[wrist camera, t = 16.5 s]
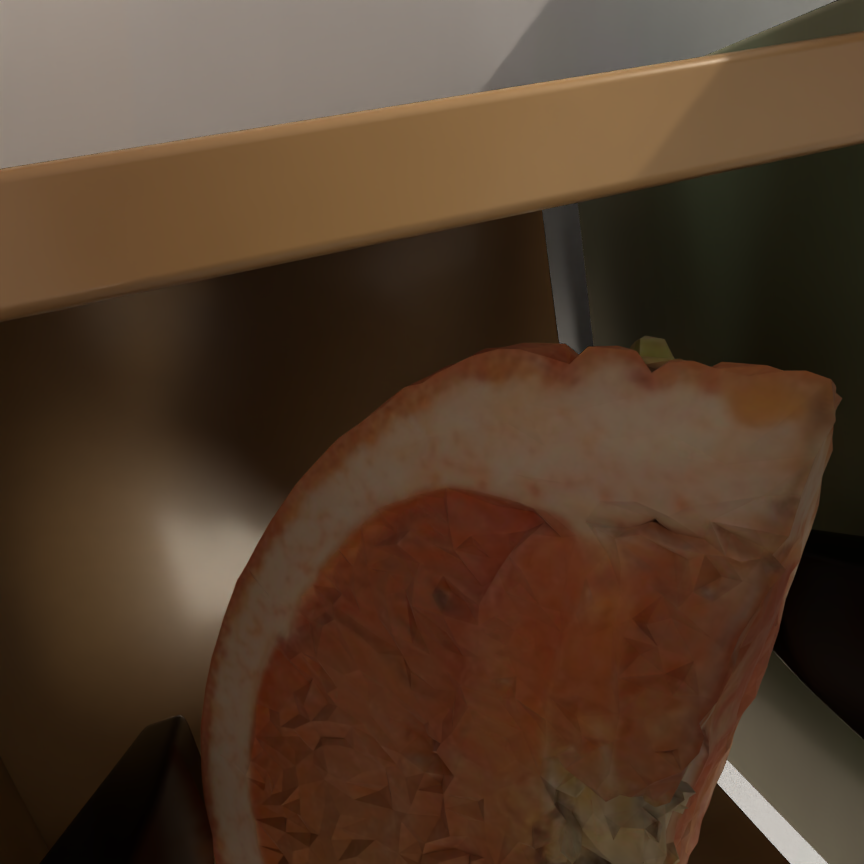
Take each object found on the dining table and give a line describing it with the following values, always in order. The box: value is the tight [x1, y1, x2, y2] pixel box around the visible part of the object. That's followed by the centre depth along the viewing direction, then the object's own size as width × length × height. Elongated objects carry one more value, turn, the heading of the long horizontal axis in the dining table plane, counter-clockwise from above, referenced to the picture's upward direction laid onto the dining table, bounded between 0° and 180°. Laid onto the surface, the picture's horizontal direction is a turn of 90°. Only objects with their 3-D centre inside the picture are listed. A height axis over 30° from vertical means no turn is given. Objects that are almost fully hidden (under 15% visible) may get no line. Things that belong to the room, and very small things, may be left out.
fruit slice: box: [201, 336, 842, 864], centre depth 7 cm, size 8×7×5 cm
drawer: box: [0, 0, 864, 864], centre depth 10 cm, size 20×13×9 cm, turn 101°
